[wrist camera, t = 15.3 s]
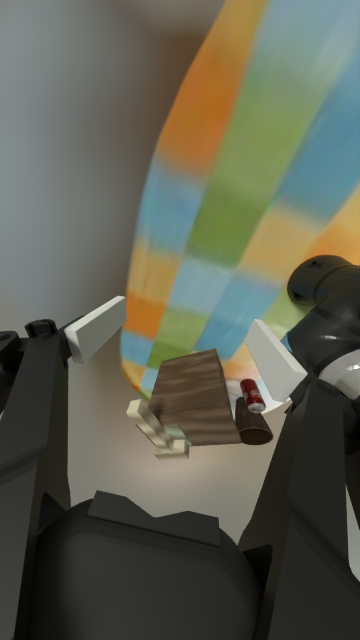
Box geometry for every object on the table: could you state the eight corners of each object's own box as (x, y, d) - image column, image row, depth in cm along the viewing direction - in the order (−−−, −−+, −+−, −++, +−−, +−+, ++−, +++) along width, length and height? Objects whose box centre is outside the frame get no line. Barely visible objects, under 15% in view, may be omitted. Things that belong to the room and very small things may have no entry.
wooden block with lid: (224, 369, 66) (242, 444, 41) (170, 379, 73) (157, 449, 48) (215, 344, 60) (230, 415, 35) (158, 358, 67) (135, 425, 42)
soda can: (243, 389, 71) (252, 415, 60) (236, 381, 68) (244, 405, 58) (258, 384, 68) (269, 410, 58) (251, 375, 66) (261, 400, 55)
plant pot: (256, 410, 77) (269, 446, 63) (228, 408, 79) (235, 444, 65) (260, 392, 70) (276, 429, 56) (230, 391, 72) (238, 426, 58)
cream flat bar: (189, 445, 44) (188, 458, 42) (161, 447, 47) (159, 459, 44) (153, 397, 34) (149, 409, 32) (120, 402, 37) (114, 414, 34)
